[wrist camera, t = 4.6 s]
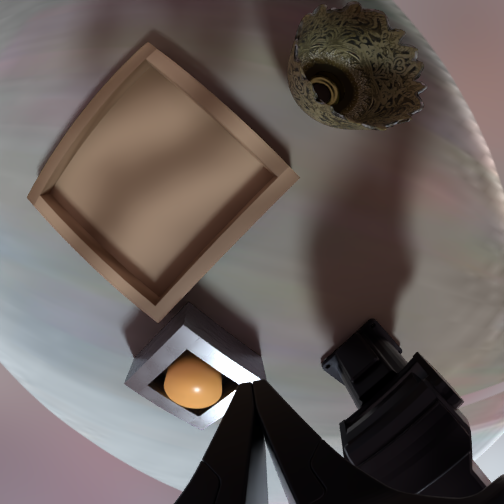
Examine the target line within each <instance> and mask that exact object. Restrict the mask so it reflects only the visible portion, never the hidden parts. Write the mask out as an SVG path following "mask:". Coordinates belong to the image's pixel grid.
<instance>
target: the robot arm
mask: <svg viewBox="0 0 504 504" xmlns="http://www.w3.org/2000/svg"><path fill="white" fill-rule="evenodd" d="M373 323H374V324H373ZM372 324H373V325H372ZM371 325H372V326H371ZM401 353H402V349H401V348H400V347H399V346H398V345H397V344H396V343H395V341H394V340H393V339H392V338H391V337H390V336H389V334H388V333H387V332H386V331H385V330H384V329H383V328H382V327H381V325H380V324H379V323H378V322H377V321H376V320H375V319H370V320H369V321H368V322H367V323H366V324H365V325H364V326H362V327H361V328H360V329H359V330H358V331H357V332H356V333H355V334H354V335H353V336H352V337H351V338H350V339H349V340H347V341H346V342H345V343H344V344H343V345H342V346H341V347H340V348H339V349H337V350H336V351H335V352H334V353H333V354H332V355H331V356H329V357H328V358H327V359H326V360H325V361H323V363H322V368H323V370H325V371H326V372H327V373H329V374H330V375H331V376H333V377H334V378H335V379H337V380H338V381H339V382H341V383H342V384H343V385H345V386H346V388H347V390H348V392H349V394H350V395H351V397H352V399H353V401H354V403H355V405H356V407H357V408H358V410H357V411H356V412H355V413H353V414H352V415H351V416H350V417H349V418H347V419H346V420H343V421H342V422H341V423H339V425H340V432H341V440H342V447H343V455H344V458H343V457H342V456H341V455H340V454H339V453H337V452H336V451H335V450H334V449H333V448H332V447H331V446H330V445H328V444H327V443H326V442H325V441H324V440H322V438H321V437H320V436H319V435H318V434H317V433H316V432H315V431H314V430H313V429H312V428H311V427H310V426H309V425H308V424H307V423H306V422H305V421H304V420H303V419H302V418H301V417H300V416H299V415H298V414H297V413H296V412H295V411H294V410H293V409H292V407H291V406H290V405H289V404H288V403H287V402H286V401H285V400H284V399H283V398H282V397H281V396H280V395H279V394H278V393H277V391H276V390H275V389H274V388H273V387H272V386H271V385H270V384H269V383H268V382H267V381H266V380H265V379H260V380H255V381H253V382H245V383H240V384H239V385H238V387H237V389H236V391H235V393H234V395H233V397H232V400H231V402H230V404H229V406H228V408H227V410H226V412H225V414H224V416H223V418H222V420H221V422H220V424H219V426H218V429H217V431H216V433H215V435H214V437H213V439H212V441H211V443H210V445H209V447H208V449H207V451H206V453H205V454H204V456H203V458H202V461H201V462H200V464H199V466H198V468H197V470H196V472H195V473H194V475H193V477H192V479H191V480H190V482H189V483H188V485H187V486H186V488H185V489H184V491H183V492H182V494H181V495H180V496H179V498H178V499H177V500H176V502H175V503H174V504H268V488H267V469H266V450H265V441H266V444H267V447H268V450H269V453H270V456H271V458H272V461H273V464H274V466H275V469H276V471H277V474H278V477H279V479H280V482H281V484H282V487H283V489H284V492H285V494H286V497H287V499H288V502H289V504H504V475H501V476H500V477H499V478H497V479H496V480H495V481H493V482H492V483H491V482H490V480H489V479H488V478H487V477H486V475H485V474H484V473H483V472H482V471H481V469H480V468H479V467H478V466H477V464H476V463H475V462H474V461H473V460H472V441H471V430H470V426H469V422H468V420H467V418H466V417H465V416H464V415H463V414H462V413H461V411H460V410H459V409H458V408H459V407H460V406H461V405H462V403H464V401H463V400H462V398H461V397H460V396H459V395H458V394H457V392H456V391H455V390H454V389H453V387H452V386H451V385H450V384H449V383H448V382H447V381H446V380H445V379H444V378H443V377H442V375H441V374H440V373H439V372H438V371H437V370H436V369H435V368H434V367H433V366H432V365H431V364H430V363H429V362H428V361H427V360H426V359H424V358H423V357H422V356H421V355H420V354H419V353H418V352H416V353H415V354H414V356H413V358H412V359H411V360H410V361H409V362H407V361H406V360H405V359H404V358H403V357H402V356H401ZM328 364H329V365H328ZM326 365H328V366H326ZM264 438H265V439H264Z"/></svg>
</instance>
